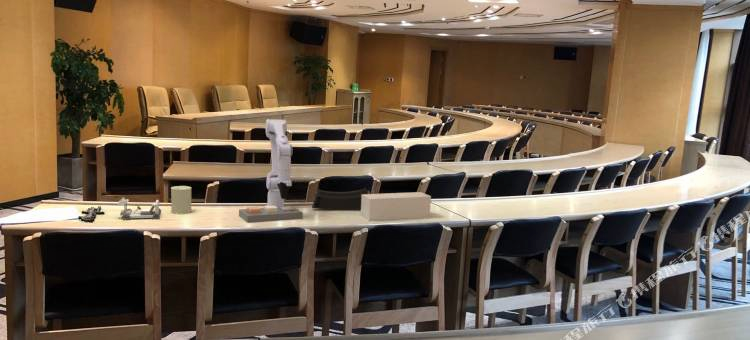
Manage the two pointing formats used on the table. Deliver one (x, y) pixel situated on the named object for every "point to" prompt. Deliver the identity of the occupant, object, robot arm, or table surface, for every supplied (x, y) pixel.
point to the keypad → (270, 215)
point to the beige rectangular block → (395, 206)
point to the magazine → (339, 200)
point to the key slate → (286, 209)
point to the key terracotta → (253, 210)
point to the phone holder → (140, 214)
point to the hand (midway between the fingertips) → (283, 198)
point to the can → (181, 199)
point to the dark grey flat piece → (91, 214)
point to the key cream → (270, 209)
